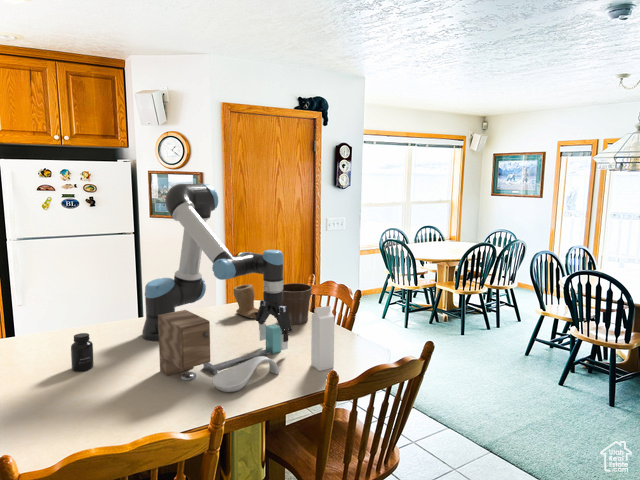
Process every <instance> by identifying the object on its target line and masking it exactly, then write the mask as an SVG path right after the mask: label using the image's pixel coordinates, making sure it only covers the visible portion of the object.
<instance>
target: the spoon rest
mask: <svg viewBox="0 0 640 480" xmlns="http://www.w3.org/2000/svg"><path fill="white" fill-rule="evenodd" d="M264 362H266V363H268V365H269V371H270V372H271V373H272V374H274V375H279V374H280V370H279V366H278V365H277V363H276V361H274V360H273V359H272V358H269V357H267V356H258V357H255V358H252V359H250V360H248V361H246V362H243V363H240V364H237V365H234V366H231V367H228V368H225V369H222V371H221V370H220V371H219V372H218V373H217V374H214V375H213V377H212V379H211V382H212V384H213V386H214V387H215V388H216V389H218V390H220V391H221V392H224V393H235V392H238V391H240V390H242V389H243V387H245V386H246V385H247V384H248V382H249V380H250V379H251V378H252V376H253V374H254V372H255V371H256V369H257V367H258V366H259V365H260V364H261V363H264Z"/></svg>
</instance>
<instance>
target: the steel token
mask: <svg viewBox="0 0 640 480" xmlns="http://www.w3.org/2000/svg"><path fill="white" fill-rule="evenodd" d="M196 378H197V373H196V372H195V371H186V372H183V373H182V374H180V380H181V381H185V382H188V381H189V382H190V381H193V380H196Z"/></svg>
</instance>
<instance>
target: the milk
mask: <svg viewBox="0 0 640 480" xmlns="http://www.w3.org/2000/svg"><path fill="white" fill-rule="evenodd" d="M310 342H311V345H310V346H311V353H310V354H311V357H310V358H311V360H310V361H311V362H310V364H311V366H312V367H313V368H314V369H316V370H317V371H319V372H321V371H324V370H325V371H326V370H330V369H334V365H335V362H334V361H335V360H334V359H335V315H334V313H333V312H332V310H331V305H325V306H320V307H315V312H313V313H312V314H311V341H310Z"/></svg>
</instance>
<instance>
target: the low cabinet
mask: <svg viewBox="0 0 640 480" xmlns="http://www.w3.org/2000/svg"><path fill="white" fill-rule="evenodd" d="M210 324H211V323H210V320H208V319H206V318H204V317H202V316H200V315H198V314H195V313H193V312H191V311H189V310H187V309H181V310H177V311H176V310H175V312H171V313H166V314H161V315H158V329H159V340H158V349H159V350H158V351H159V372H160V373H161V374H164V375H165V376H166V377H167V376H170V375H174V374H178V373H180V372H184V371H188V370H191V369H194V368H195V367H197V366H202V365H203V364H205V363H208V362H209V363H211V329H210V327H211V325H210Z"/></svg>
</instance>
